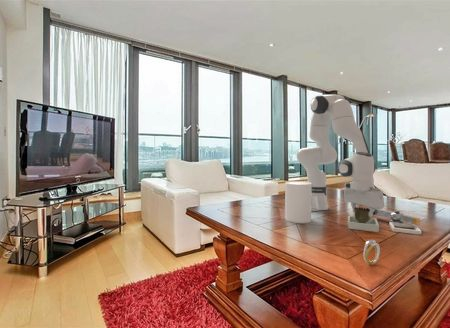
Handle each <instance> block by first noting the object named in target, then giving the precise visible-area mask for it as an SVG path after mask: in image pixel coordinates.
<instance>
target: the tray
mask: <svg viewBox="0 0 450 328" xmlns="http://www.w3.org/2000/svg"><path fill="white" fill-rule="evenodd" d="M347 216H348V217H347V222H348V223H347V229H350V230H358V231H366V232H375V233H376V232H377V233H379V231H380V224H379V221H378V219H377V217H376V218H375V217H370V219H369V221H368V222H366V224H365V223H358V221H357V220H356V219H355V215H347Z"/></svg>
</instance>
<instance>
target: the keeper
mask: <svg viewBox="0 0 450 328" xmlns="http://www.w3.org/2000/svg"><path fill="white" fill-rule="evenodd" d="M389 227H390V230H392V232H395V233H396V232H397V233H404V234H405V233H406V234H413V235H422V230H421V229H420V227H419V226H418V225H414V224H410V223H405V222H403V223H394V222H391V221H389ZM409 228H410V229H409Z"/></svg>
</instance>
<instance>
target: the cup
mask: <svg viewBox="0 0 450 328" xmlns="http://www.w3.org/2000/svg"><path fill="white" fill-rule="evenodd" d="M356 207H357V208H356ZM356 207H355V208H354V212H353V213H354V216H355V219H356V220H357V221H358V223H365V224H366V222H368V221H369V219H370V218H371V217H369V216H367V213H368V212H369V211H370V210H369V207H367V208H366V207H362V206H361V207H358V206H356Z"/></svg>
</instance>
